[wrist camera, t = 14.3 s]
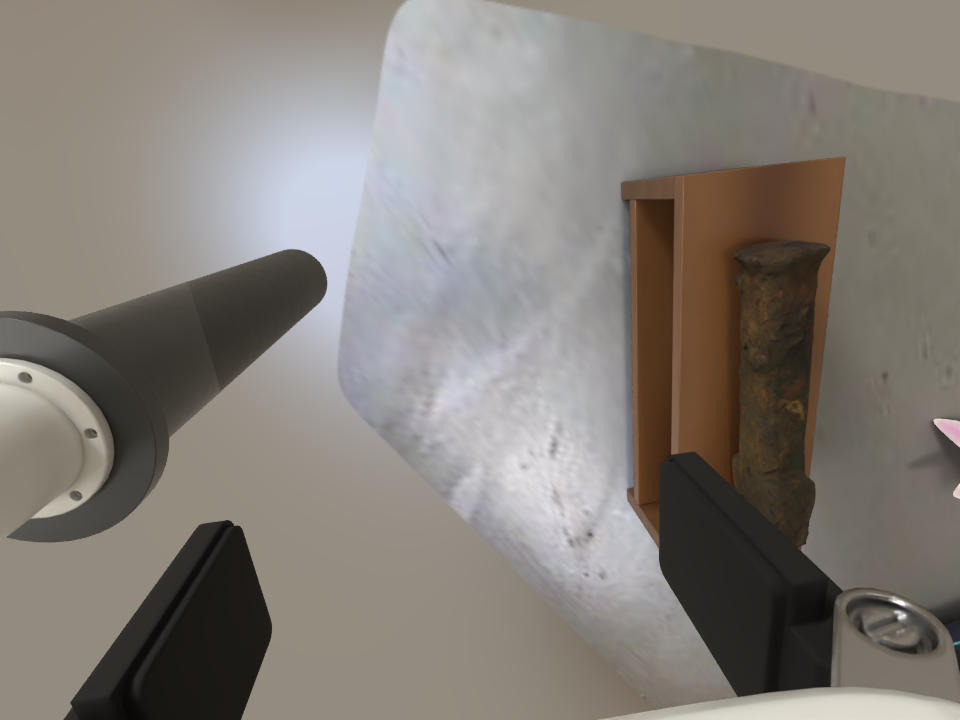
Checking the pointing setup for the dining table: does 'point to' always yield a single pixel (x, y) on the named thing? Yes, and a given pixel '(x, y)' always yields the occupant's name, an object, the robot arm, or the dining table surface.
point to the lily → (953, 430)
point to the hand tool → (776, 380)
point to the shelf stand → (711, 304)
